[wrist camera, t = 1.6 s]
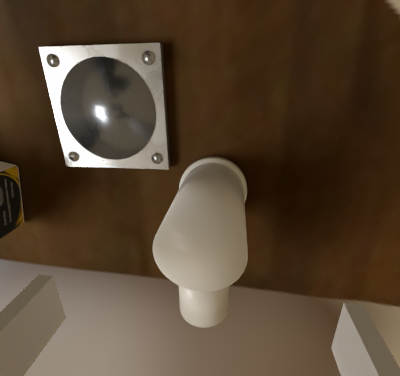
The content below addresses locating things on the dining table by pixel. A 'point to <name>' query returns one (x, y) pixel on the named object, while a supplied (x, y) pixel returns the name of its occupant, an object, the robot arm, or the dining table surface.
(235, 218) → the elbow
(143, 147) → the flange plate
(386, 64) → the dining table surface
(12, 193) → the medicine bottle
